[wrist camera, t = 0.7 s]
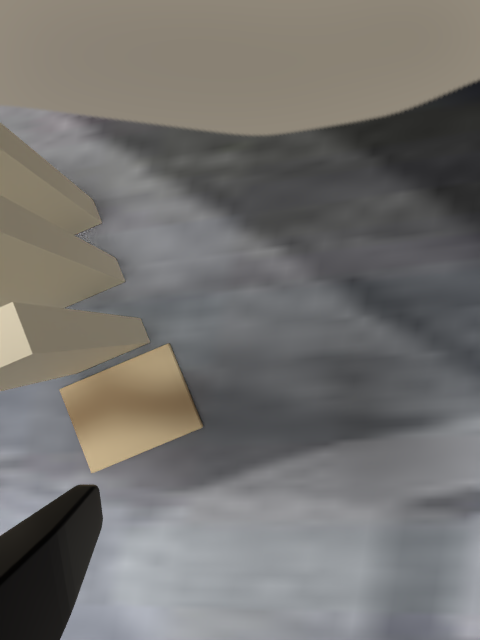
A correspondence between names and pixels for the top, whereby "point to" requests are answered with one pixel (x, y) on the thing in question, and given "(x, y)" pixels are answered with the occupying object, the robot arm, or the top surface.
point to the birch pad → (131, 408)
